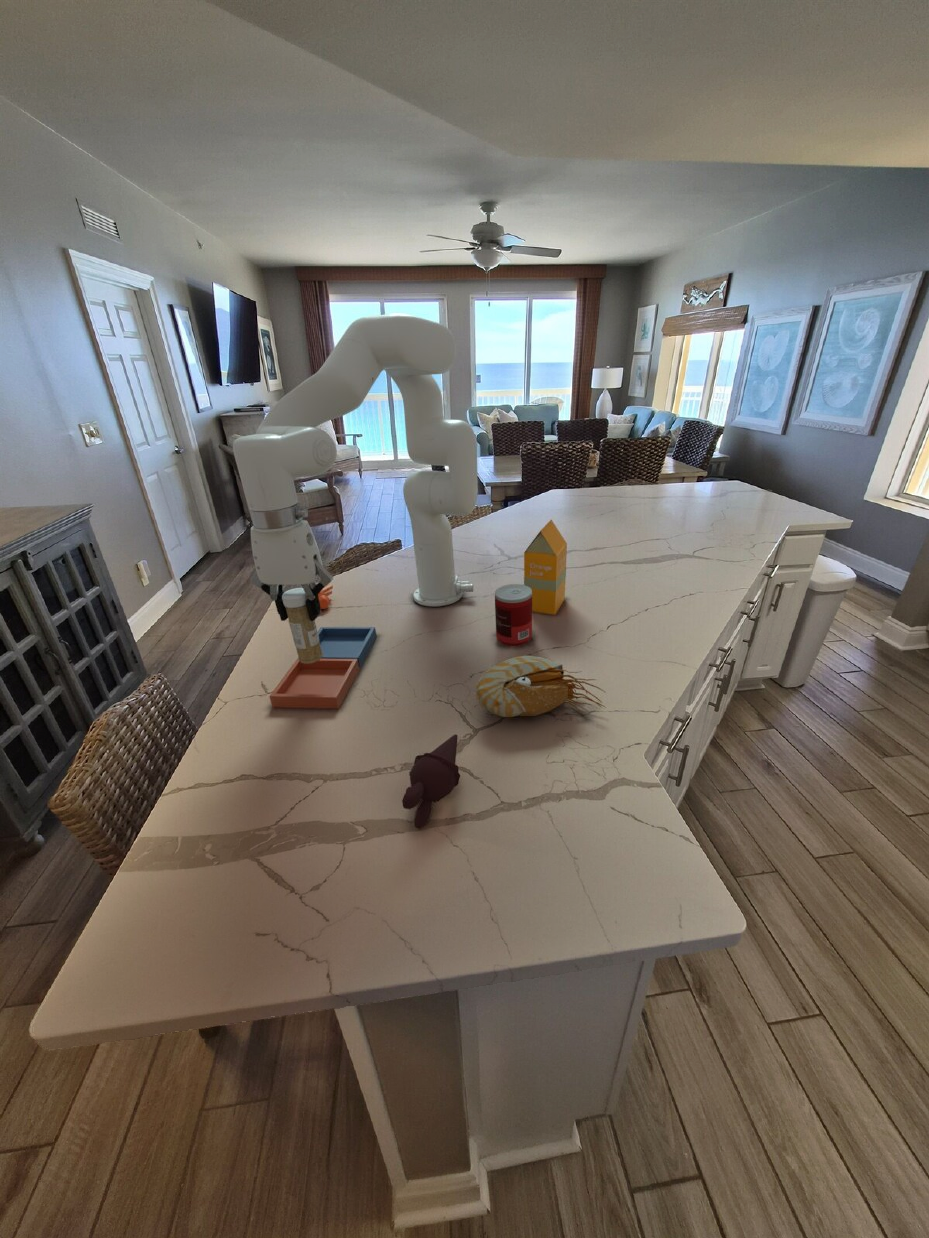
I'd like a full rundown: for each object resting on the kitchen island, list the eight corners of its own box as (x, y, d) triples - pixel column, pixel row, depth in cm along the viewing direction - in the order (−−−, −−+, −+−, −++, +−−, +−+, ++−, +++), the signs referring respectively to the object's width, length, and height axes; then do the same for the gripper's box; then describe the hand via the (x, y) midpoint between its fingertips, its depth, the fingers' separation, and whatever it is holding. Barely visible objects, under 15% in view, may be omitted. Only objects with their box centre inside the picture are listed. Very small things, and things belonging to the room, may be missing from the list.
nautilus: (609, 695, 88) (595, 756, 76) (494, 669, 95) (465, 721, 83) (615, 659, 84) (601, 718, 72) (495, 635, 91) (464, 685, 79)
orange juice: (565, 599, 122) (568, 520, 112) (555, 614, 115) (558, 532, 105) (534, 594, 125) (535, 517, 115) (523, 610, 118) (523, 529, 108)
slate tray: (376, 636, 111) (375, 626, 110) (360, 668, 100) (358, 657, 99) (323, 636, 112) (320, 626, 111) (300, 667, 101) (298, 657, 100)
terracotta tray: (359, 669, 100) (357, 658, 98) (338, 708, 88) (336, 697, 87) (300, 668, 101) (297, 658, 100) (272, 707, 90) (269, 696, 89)
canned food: (535, 630, 109) (535, 585, 104) (527, 649, 102) (527, 601, 97) (501, 627, 111) (500, 582, 106) (491, 645, 105) (490, 598, 99)
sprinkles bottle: (326, 659, 91) (312, 592, 85) (302, 667, 89) (285, 600, 83) (318, 648, 94) (303, 584, 88) (295, 656, 92) (278, 591, 86)
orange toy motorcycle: (323, 576, 129) (287, 594, 120) (345, 589, 127) (310, 608, 118) (322, 591, 132) (287, 610, 123) (343, 604, 130) (309, 624, 121)
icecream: (427, 717, 75) (377, 796, 64) (470, 717, 71) (424, 801, 60) (443, 750, 78) (397, 832, 67) (484, 752, 74) (444, 839, 63)
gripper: (335, 508, 81) (353, 607, 90) (239, 511, 83) (265, 607, 92) (318, 522, 75) (339, 627, 83) (214, 525, 77) (245, 627, 85)
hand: (300, 616), depth 88 cm, fingers closed on sprinkles bottle, 4 cm apart
